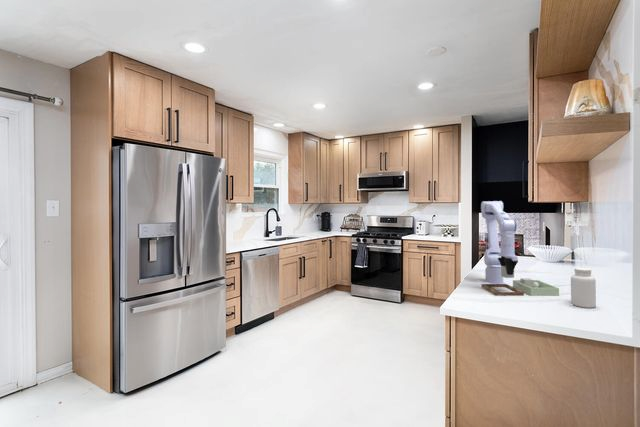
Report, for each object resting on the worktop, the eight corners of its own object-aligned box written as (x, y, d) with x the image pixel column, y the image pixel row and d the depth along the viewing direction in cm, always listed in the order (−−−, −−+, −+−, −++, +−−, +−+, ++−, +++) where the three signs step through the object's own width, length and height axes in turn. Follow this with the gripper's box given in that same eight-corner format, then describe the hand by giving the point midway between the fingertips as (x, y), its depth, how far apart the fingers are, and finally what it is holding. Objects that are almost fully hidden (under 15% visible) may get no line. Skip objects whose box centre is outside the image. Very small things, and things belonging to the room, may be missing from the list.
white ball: (530, 287, 161) (530, 281, 161) (537, 287, 161) (537, 281, 161) (534, 288, 158) (534, 282, 158) (540, 288, 158) (540, 282, 158)
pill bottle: (569, 301, 140) (569, 266, 139) (593, 304, 135) (593, 268, 135) (572, 306, 133) (572, 269, 132) (597, 309, 129) (597, 271, 128)
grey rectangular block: (520, 288, 160) (520, 278, 159) (529, 288, 159) (529, 278, 159) (524, 290, 156) (524, 280, 155) (533, 290, 155) (533, 280, 155)
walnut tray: (481, 287, 164) (481, 283, 164) (506, 288, 163) (506, 284, 163) (496, 296, 148) (496, 292, 148) (523, 296, 147) (523, 292, 147)
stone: (501, 275, 158) (501, 265, 158) (509, 275, 157) (509, 265, 157) (505, 277, 154) (505, 267, 154) (514, 277, 153) (514, 267, 153)
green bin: (512, 288, 163) (512, 280, 163) (538, 288, 162) (538, 280, 162) (530, 296, 147) (530, 288, 147) (559, 297, 146) (559, 288, 146)
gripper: (492, 243, 163) (492, 270, 163) (506, 247, 148) (506, 276, 149) (506, 243, 162) (507, 270, 162) (522, 246, 148) (522, 276, 148)
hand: (507, 273), depth 155 cm, fingers closed on stone, 4 cm apart
